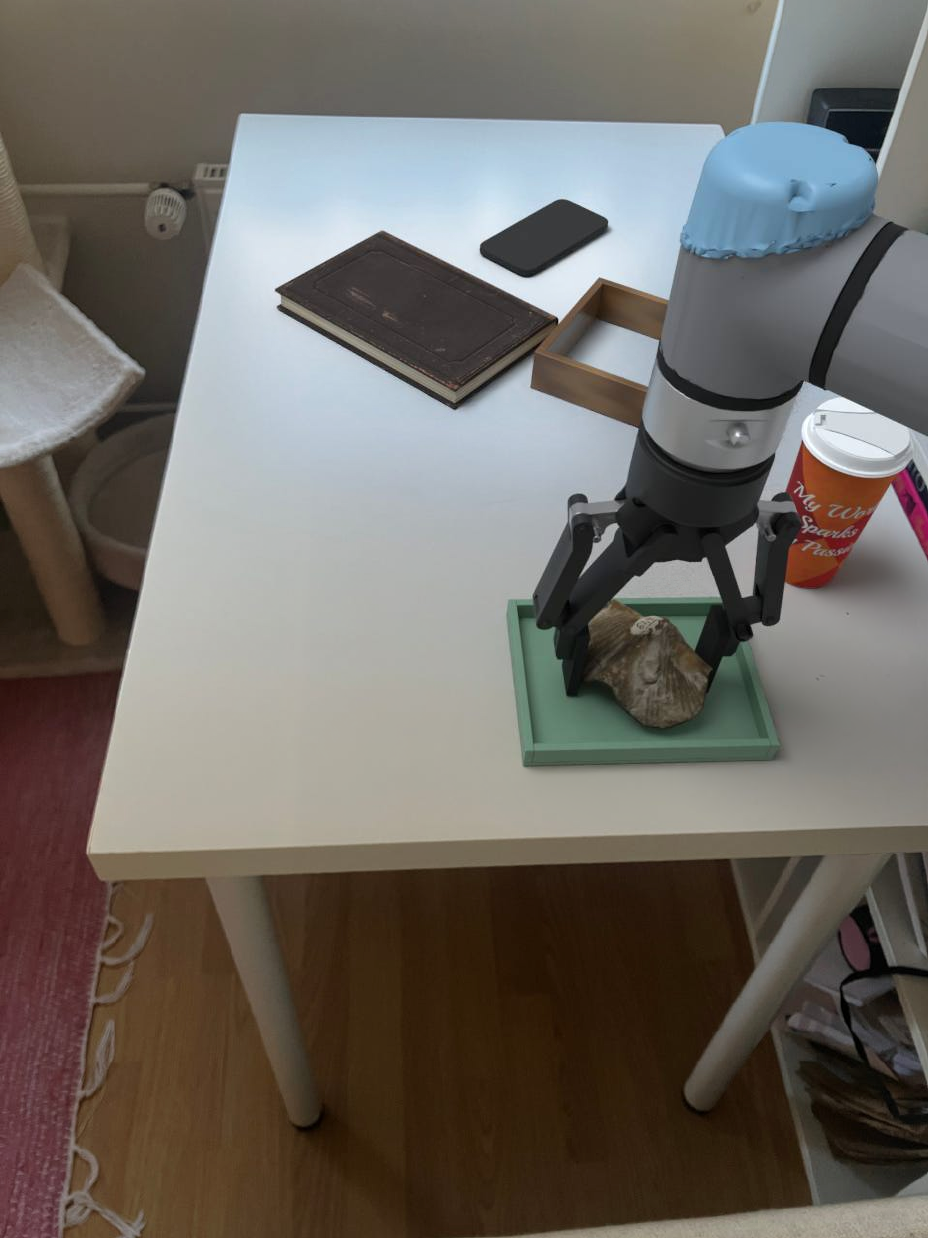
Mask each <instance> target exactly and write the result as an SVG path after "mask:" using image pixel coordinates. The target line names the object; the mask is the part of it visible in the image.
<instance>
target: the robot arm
mask: <svg viewBox="0 0 928 1238" xmlns="http://www.w3.org/2000/svg"><path fill="white" fill-rule="evenodd" d="M878 185H879V172H878V168H877V165H876V163H875V160H874V158H873V157H872V156H871V154H869V152H868V151H866V150H865V149H864V148H863V147H862V146H859V145H855V144H851V143H849V140H848V139H847V138H846V136H845V135H843V134H841V133H838V132H837V131H833V130H831V129H828V128H825V127H822V126H818V125H812V124H807V123H801V122H795V121H794V122H793V121H765V122H757V123H752V124H748V125H746V126H742V127H739V128H737V129H735V130H733V131H731V132H730V133H729V134H727V135H726V136H725V137H723V138H722V139H720V140H718V141H717V142H716V143H715V145H714V146H712V147H711V149H710V151H709V152H708V154H707V155H706V157H705V160H704V162H703V166H702V169H701V172H700V176H699V179H698V182H697V185H696V189H695V192H694V196H693V199H692V202H691V205H690V209H689V212H688V216H687V219H686V222H685V224H683V226H682V230H681V232H680V236H679V243H680V246H679V251H678V256H677V259H676V264H675V269H674V275H673V279H672V284H671V289H670V293H669V297H668V300H669V302H668V307H667V312H666V316H665V321H664V326H663V331H662V335H661V338H660V340H659V339H658V340H659V341H658V344H657V345H658V346H657V349H656V355H655V359H654V363H653V367H652V371H651V374H650V377H649V381H648V386H647V387H648V389H647V393H646V397H645V401H644V405H643V412H642V420H641V422H640V424H639V427H637V428H638V429H637V434H636V438H635V442H634V446H633V450H632V455H631V460H630V463H629V467H628V472H627V477H626V482H625V484H624V486H623V487H622V488H621V489H620V490H619V491H618V492H617V494H616V495H615V497H614V498H613V500H606V501H605V500H604V501H596V502H589V499H588V497H587V495H586V494H584V493H578V492H577V493H574V494H572V495H570V496H569V497H568V498H567V522H566V525H565V527H564V528H563V531H562V532H561V535H560V537H559V539H558V541H557V544H556V545H555V548H554V550H553V552H552V553H551V556H550V557H549V560H548V562H547V563H546V566H545V569H544V571H543V573H542V575H541V576H540V578H539V581H538V583H537V585H536V586H535V589H534V591H533V594H532V598H531V599H533V605H534V613H535V620H536V626H537V628H539V629H541V630H548V629H550V628H552V627H555V632H554V638H553V641H554V648H555V655H556V657H557V659H558V660H563V661H562V670H563V677H564V684H565V690H566V696H577V693H578V689H579V684H580V680H581V676H582V672H583V667H584V663H585V659H586V654H587V650H588V646H589V642H590V633H589V627H588V623H589V622H590V621H591V620H592V619H593V618H594V617H595V616H596V615H597V614H598V613H599V612H600V611H601V610H602V609H603V608H604V606H605V605H606V604H607V603H608V602H609V601H610V600H611V599H612V598H615V596H617V594H618V593H619V592H620V591H621V590H623V588H624V587H625V586H626V585H627V584H628V583H629V582H630V581H631V580H632V579H633V578H634V577H635V576H636V577H638V578H639V577H640V578H641V577H642V576H643V575H644V574H645V573H646V572H647V571H648V570H649V569H650V568H651V567H652V566H653V565H654V564H655V563H667V562H673V561H681V562H686V563H702V562H703V559H705V558H706V560H707V563H708V566H709V569H710V571H711V574H712V576H713V579H714V582H715V585H716V588H717V591H718V594H719V597H721V599H722V602H723V605H724V608H725V610H724V609H723V606H722V605H711V607H710V610H709V613H708V615H707V618H706V621H705V624H704V626H703V629H702V632H701V635H700V637H699V640H698V643H697V645H696V648H695V653H696V654H697V655H698V656H699V657H700V658H701V659H702V660H703V661H704V662H705V663H707V664H708V665H709V666H711V667H712V669H713V670H712V671H711V672H710V673H709V676H708V688H707V691H706V693H708V692H709V690H710V687H711V685H712V682H713V680H714V677H715V675H716V672H717V670H718V667H719V665H720V662H721V660H722V657H728V656H732V655H733V654H734V653H735V652H736V650H737V648H738V645H739V643H740V642H746V641H748V642H749V641H750V640H751V639H752V638H753V637H754V632H753V629H752V625H755V624H759V623H761V625H763V626H764V627H774V626H775V625H777V624H779V623H780V620H781V617H782V616H781V615H782V609H783V600H784V593H785V585H786V582H785V577H786V569H787V562H788V554H789V548H790V546H791V545H792V543H793V541H794V540H795V538H796V536H797V535H798V533H799V532H800V530H801V528H802V523H801V520H800V518H799V515H798V512H797V510H796V507H795V505H794V502H793V499H792V497H791V495H790V494H789V493H787V492H785V491H784V492H783V491H782V492H778V493H776V494H775V495H774V496H772V498H771V500H766V499H761V496H762V494H763V491H764V489H765V487H766V484H767V481H768V478H769V475H770V473H771V470H772V468H773V465H774V463H775V460H776V452H777V450H778V448H779V447H780V444H781V443H782V440H783V437H784V434H785V431H786V430H787V427H788V424H789V421H790V419H791V416H792V413H793V411H794V408H795V406H796V403H797V400H798V397H799V395H800V392H801V389H802V387H803V385H804V382H805V383H808V384H810V385H812V386H814V387H817V388H819V389H822V390H823V391H829V392H830V393H833V394H836V395H838V396H839V397H844V398H846V399H848V400H850V401H852V402H854V403H857V404H859V405H861V406H863V407H865V408H867V409H869V410H872V411H874V412H876V413H878V414H880V415H882V416H884V417H887V418H889V419H891V420H893V421H895V422H897V423H899V424H902V425H904V426H906V427H908V429H909V430H912V431H915V432H917V433H918V434H921V435H923V436H925V437H927V438H928V234H925V233H922V232H920V231H917V230H913V229H911V228H908V227H905V226H903V225H899V224H897V223H895V222H894V221H893V220H890V219H888V218H884V217H882V216H879V215H877V214H875V213H874V210H875V208H876V192H877V188H878ZM614 524H617V526H618V528H617V529H616V530H615V532H614V536H613V539H612V541H611V542H610V544H609V545H608V546H607V547H606V548H605V549H604V550H603V551H602V552H601V553H600V555H599V556H598V557H597V558H596V559H595V560H594V561H593V562H592V563H591V564H590V565H589V567H587V569H586V570H585V567H586V565H587V564H588V561H589V559H590V557H591V554H592V552H593V548H594V544H599V543H600V542H602V536H603V535H604V534H605V532H606V530H607V528H608V527H610V526H612V525H614ZM755 525H756V528H757V531H758V532H757V541H756V554H755V564H754V565H755V566H754V575H753V588H752V595H749V596H744V597H743V596H742V593H741V589H740V586H739V584H738V581H737V578H736V575H735V571H734V569H733V565H732V562H731V559H730V556H729V553H728V550H727V547H726V546H727V545H729V544H731V542H733V541H734V540H735V539H737V538H738V537H740V536H741V535H742V534H744V533H746V531H747V530H749V529H751V528H752V527H753V526H755ZM584 570H585V571H584ZM583 571H584V572H583Z"/></svg>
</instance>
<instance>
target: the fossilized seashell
mask: <svg viewBox="0 0 928 1238" xmlns="http://www.w3.org/2000/svg"><path fill="white" fill-rule="evenodd" d="M588 627H589V633H590V642H589V646H588V650H587V654H586V659H585V663H584V667H583V672H582V676H581V680H580V681H581V682H583V683H589V684H593V685H602V686H605V687H608V688H609V689H610V691H611V692H612V693H613V695H614V697H615V699H616V700H617V702H618V704H619V705H620V706H621V707H622V708H623V709H624V710H625V711H626V712H627V714H629V715H630V716H632V717H633V718H634V719H635V720H636V721H637V722H639V723H640V724H641V725H643V726H646V727H652V728H659V729H667V728H673V727H674V726H675V725H679V724H683V723H685V722H688V721H690V720H691V719H692V718H694V717H695V716H697V715H698V714H699V713H700V712H701V710H702V709H703V707H704V701H705V696H706V691H707V688H708V676H709V673H710V672H711V671H712V670H713V669H712V667H711V666H709V665H708V664H707V663H705V662H704V661H703V660H702V659H701V658H700V657H699V656H698V655H697V654H696V653H695V651H694V650H693V649H692V648H691V647H690V646H689V645H688V644H687V643H686V641H685V639H684V637H683V636H682V634H681V633H680V631H679V630H678V628H677V627H676V626H675V625H674V624H672V623H671V622H670V621H669V619H667V618H664V617H659V616H649V617H644V616H642V615H641V614H639V613H638V612H635V611H634V610H632V609H631V608H629V607H627V606H625V605H624V604H622V603H620V602H619V601H617V600H615V599H612V600H610V601H609V604H608V605H607V606H605V607H604V608H603V609H602V610H601V611H600V612H599V613H598V614H597V615H596V616H595V617H594V618H593V619H592V620H591V621H590V622H589V623H588Z"/></svg>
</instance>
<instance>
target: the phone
mask: <svg viewBox="0 0 928 1238" xmlns="http://www.w3.org/2000/svg"><path fill="white" fill-rule="evenodd" d="M608 226H609V220H608V218H606V217H605V216H603V215H601V214H599V213H598V212H597V213H596V212H594V211H593V210H590V209H589V208H586V207H584V206H582V205H580V204H578V203H576V202H573V201H572V200H569V199H566V198H558V199H556V200H554V201H552V202H550V203H549V204H547V205H545V206H543V207H542V208H540V209H538V210H536V211H534V212H532V213H531V214H529V215H527V216H526V217H523V218H521V219H520V220H518V221H517V222H515V223H513V224H512V225H510V226H508V227H506V228H505V229H503V230H501V231H499V232H497V233H496V234H494V235H492V236H490V237H488V238H487V239H485V240H484V241H482V242H481V243H480V244H479V254H481V255H482V256H484V257H485V258H487V259H489V260H490V261H493V262H495V263H497V264H499V265H500V266H503V267H504V268H506V269H508V270H510V271H512V272H514V273H516V274H518V275H521V276H526V277H528V276H532V275H535V274H536V273H538V272H540V271H542V270H543V269H545V268H546V267H548V266H550V265H552V264H553V263H555V262H556V261H558V260H559V259H561V258H562V257H564V256H566V255H567V254H569V253H570V252H572V251H574V250H576V249H577V248H579V247H580V246H582V245H584V244H585V243H587V242H589V241H590V240H592V239H593V238H595V237H596V236H599V235H600V234H601V233H603V232H604V231H606V230H607V229H608Z"/></svg>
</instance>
